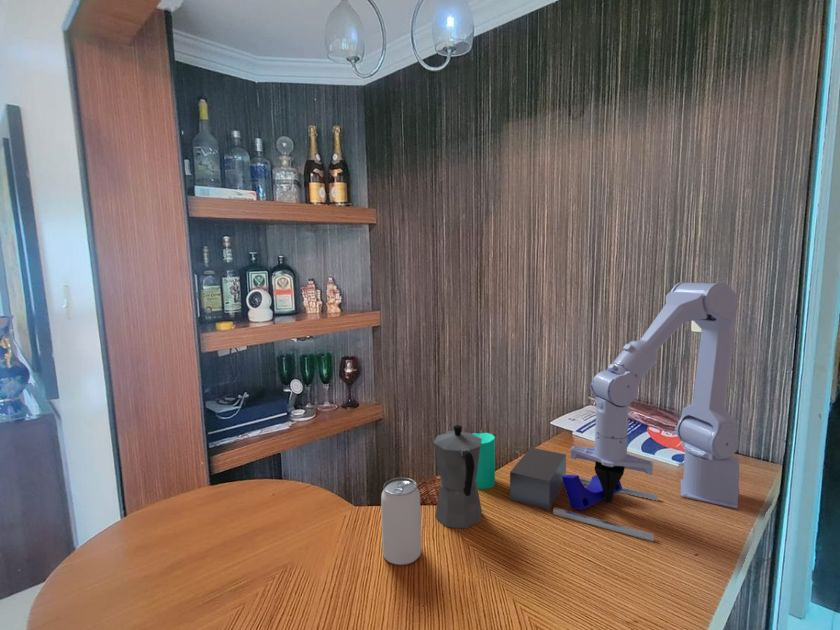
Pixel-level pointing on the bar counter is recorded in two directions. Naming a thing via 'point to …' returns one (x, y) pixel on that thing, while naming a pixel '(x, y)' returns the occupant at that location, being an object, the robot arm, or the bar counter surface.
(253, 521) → the bar counter surface
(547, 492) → the grey block with bars
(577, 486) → the cable clip
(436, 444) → the coffeepot
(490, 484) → the candle
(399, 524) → the can
